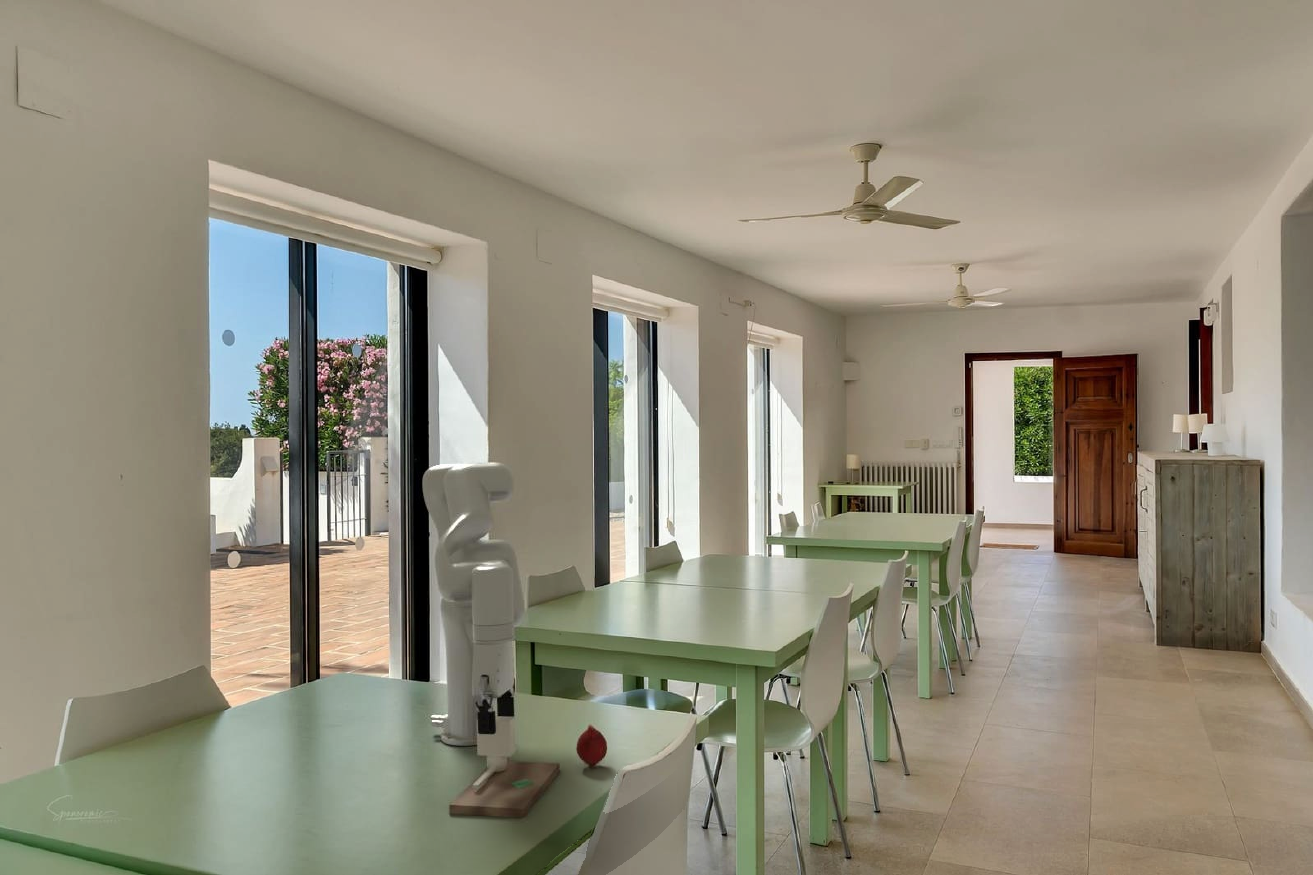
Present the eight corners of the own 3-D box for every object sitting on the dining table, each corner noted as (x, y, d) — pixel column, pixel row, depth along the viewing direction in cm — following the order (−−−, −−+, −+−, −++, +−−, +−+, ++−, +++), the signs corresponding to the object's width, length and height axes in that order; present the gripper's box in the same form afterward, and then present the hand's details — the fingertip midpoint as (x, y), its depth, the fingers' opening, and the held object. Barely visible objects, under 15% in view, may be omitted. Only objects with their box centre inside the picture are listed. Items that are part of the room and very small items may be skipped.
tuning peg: (484, 764, 170) (483, 715, 170) (516, 765, 169) (515, 716, 169) (458, 789, 158) (456, 736, 158) (493, 791, 157) (491, 738, 157)
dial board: (449, 813, 153) (449, 804, 153) (494, 768, 173) (494, 759, 173) (523, 817, 150) (523, 808, 150) (559, 771, 171) (559, 762, 171)
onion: (612, 762, 175) (611, 721, 175) (600, 773, 169) (599, 730, 169) (584, 760, 177) (583, 718, 177) (572, 770, 171) (570, 728, 171)
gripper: (491, 623, 177) (494, 712, 177) (455, 641, 160) (458, 739, 160) (528, 623, 176) (531, 713, 175) (496, 641, 159) (499, 740, 158)
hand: (496, 725), depth 167 cm, fingers open, 9 cm apart
